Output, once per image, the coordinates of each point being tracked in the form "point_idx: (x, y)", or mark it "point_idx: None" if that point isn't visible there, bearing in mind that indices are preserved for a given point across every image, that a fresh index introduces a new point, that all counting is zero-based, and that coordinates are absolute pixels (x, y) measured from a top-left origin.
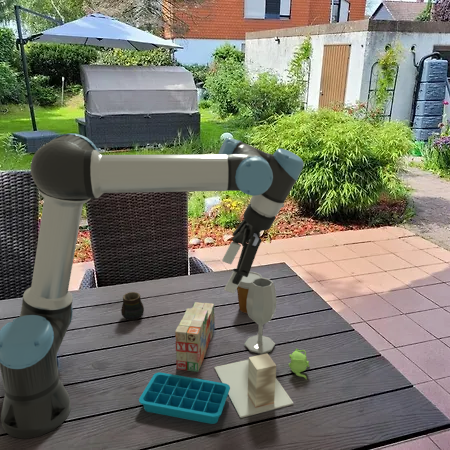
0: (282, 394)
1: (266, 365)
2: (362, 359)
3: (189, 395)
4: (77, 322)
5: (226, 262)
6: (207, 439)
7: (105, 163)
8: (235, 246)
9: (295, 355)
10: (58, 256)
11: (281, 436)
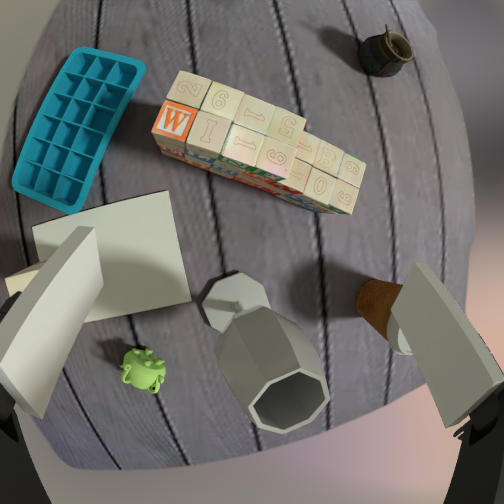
0: None
1: None
2: (178, 449)
3: (83, 133)
4: None
5: (404, 286)
6: (6, 168)
7: None
8: (460, 393)
9: (136, 372)
10: None
11: (5, 285)
